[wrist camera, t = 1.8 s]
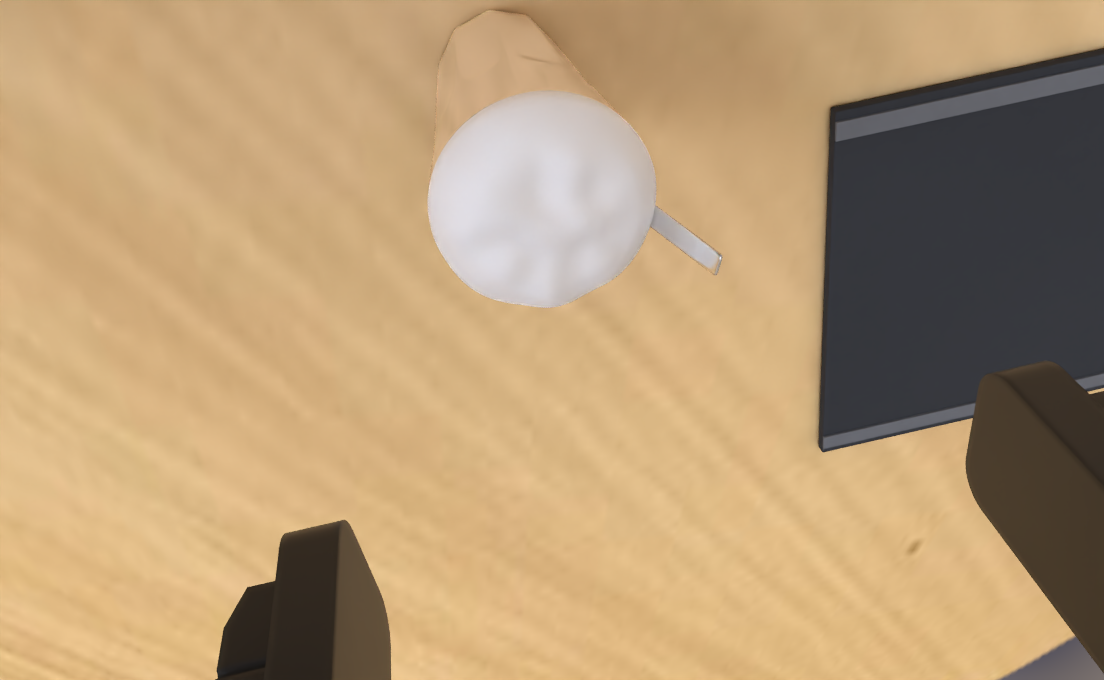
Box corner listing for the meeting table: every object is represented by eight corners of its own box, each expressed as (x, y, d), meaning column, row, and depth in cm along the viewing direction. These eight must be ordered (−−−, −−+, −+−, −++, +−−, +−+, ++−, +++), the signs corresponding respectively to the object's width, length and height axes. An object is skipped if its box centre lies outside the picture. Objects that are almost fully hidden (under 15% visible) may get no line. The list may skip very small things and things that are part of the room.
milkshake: (592, 159, 26) (688, 364, 18) (407, 140, 25) (421, 351, 17) (626, -1, 23) (756, 154, 15) (422, -30, 22) (447, 121, 14)
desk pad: (818, 446, 34) (823, 454, 34) (830, 107, 26) (837, 113, 26) (1207, 356, 35) (1217, 364, 35) (1342, -4, 27) (1357, 0, 26)
